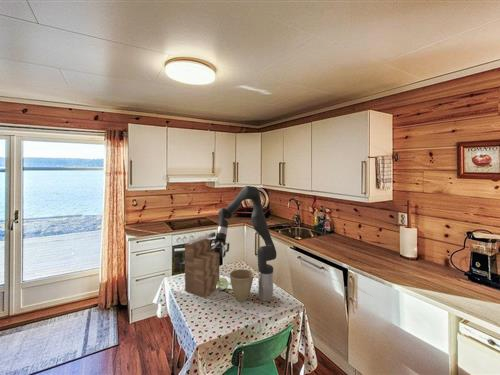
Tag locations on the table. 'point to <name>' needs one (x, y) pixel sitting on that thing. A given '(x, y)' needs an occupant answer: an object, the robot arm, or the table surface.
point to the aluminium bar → (201, 238)
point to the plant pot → (241, 283)
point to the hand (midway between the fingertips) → (217, 256)
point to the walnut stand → (201, 268)
